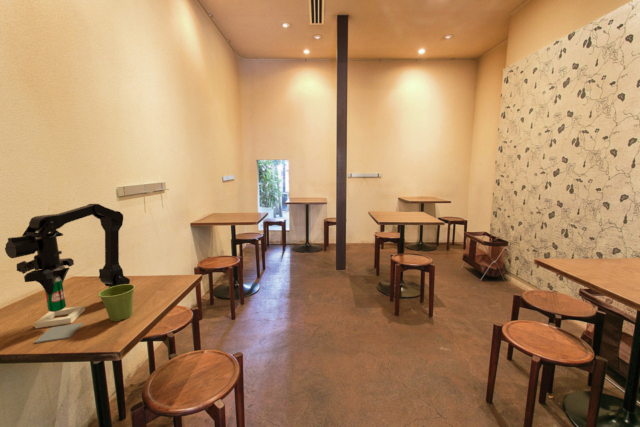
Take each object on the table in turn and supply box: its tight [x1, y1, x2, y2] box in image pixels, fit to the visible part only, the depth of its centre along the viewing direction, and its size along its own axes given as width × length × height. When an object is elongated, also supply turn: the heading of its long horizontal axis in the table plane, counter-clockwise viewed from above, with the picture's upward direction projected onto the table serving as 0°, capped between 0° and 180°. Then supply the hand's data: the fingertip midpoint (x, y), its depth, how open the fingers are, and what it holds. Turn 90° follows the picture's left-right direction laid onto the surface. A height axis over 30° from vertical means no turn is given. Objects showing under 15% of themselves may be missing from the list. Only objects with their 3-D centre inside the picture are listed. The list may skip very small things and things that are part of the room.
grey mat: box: [33, 322, 84, 344], centre depth 106 cm, size 10×10×1 cm
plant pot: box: [97, 283, 136, 322], centre depth 115 cm, size 12×12×11 cm
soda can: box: [44, 276, 67, 312], centre depth 110 cm, size 5×5×12 cm
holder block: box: [34, 305, 86, 329], centre depth 117 cm, size 11×11×2 cm
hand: (54, 291), depth 110 cm, fingers closed on soda can, 5 cm apart
